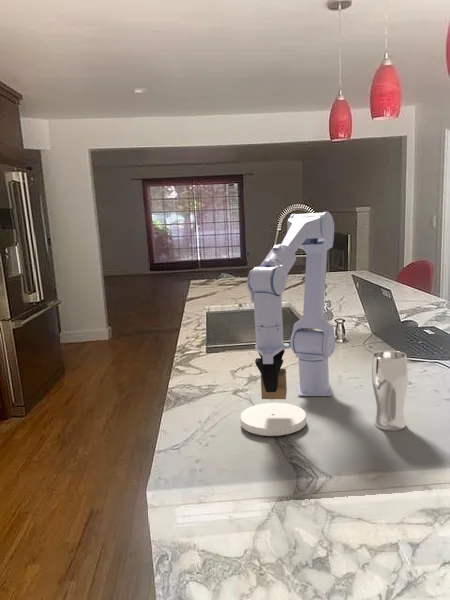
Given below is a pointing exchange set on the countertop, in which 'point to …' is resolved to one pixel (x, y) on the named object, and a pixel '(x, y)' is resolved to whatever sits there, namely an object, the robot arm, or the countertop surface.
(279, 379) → the walnut cube
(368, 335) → the countertop surface
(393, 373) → the beer glass
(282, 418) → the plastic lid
